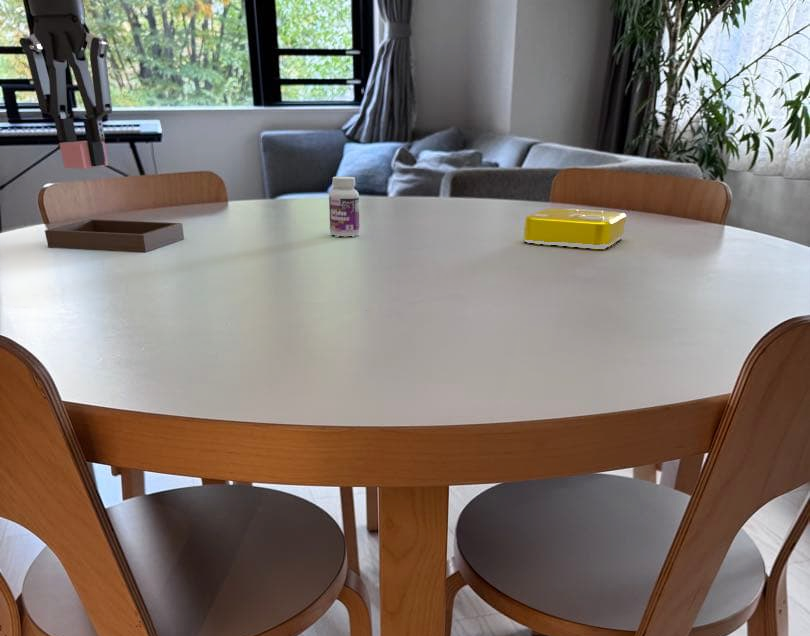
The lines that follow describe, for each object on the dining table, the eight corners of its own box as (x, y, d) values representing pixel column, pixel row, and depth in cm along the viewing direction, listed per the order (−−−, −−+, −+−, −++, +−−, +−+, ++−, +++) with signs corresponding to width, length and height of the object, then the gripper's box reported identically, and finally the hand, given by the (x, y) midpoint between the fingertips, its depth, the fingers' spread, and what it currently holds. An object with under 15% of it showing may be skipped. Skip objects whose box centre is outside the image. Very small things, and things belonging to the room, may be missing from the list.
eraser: (84, 168, 118) (79, 143, 116) (63, 168, 118) (58, 142, 116) (108, 165, 123) (104, 141, 122) (89, 164, 124) (84, 140, 122)
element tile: (624, 238, 137) (629, 210, 135) (605, 251, 126) (610, 220, 123) (545, 232, 143) (548, 204, 141) (520, 243, 131) (522, 214, 129)
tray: (48, 247, 124) (44, 230, 123) (93, 234, 136) (91, 219, 134) (145, 252, 121) (143, 235, 120) (184, 238, 132) (182, 223, 131)
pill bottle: (328, 237, 135) (325, 178, 130) (332, 232, 140) (330, 175, 135) (357, 238, 135) (356, 178, 130) (361, 233, 139) (360, 176, 135)
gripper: (119, -13, 110) (145, 164, 122) (18, -12, 113) (54, 162, 125) (90, -20, 104) (121, 168, 116) (-16, -18, 107) (25, 165, 119)
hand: (86, 164), depth 121 cm, fingers closed on eraser, 4 cm apart
